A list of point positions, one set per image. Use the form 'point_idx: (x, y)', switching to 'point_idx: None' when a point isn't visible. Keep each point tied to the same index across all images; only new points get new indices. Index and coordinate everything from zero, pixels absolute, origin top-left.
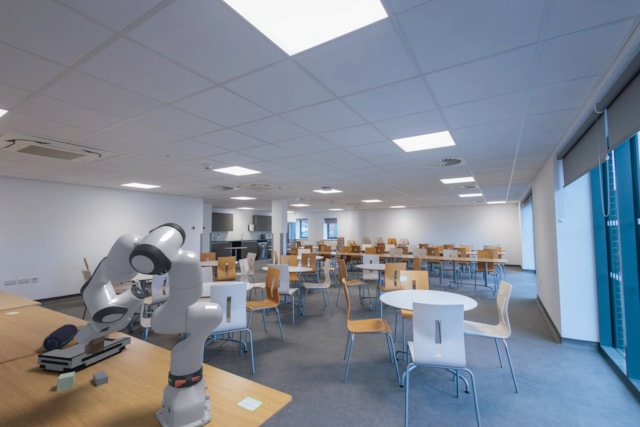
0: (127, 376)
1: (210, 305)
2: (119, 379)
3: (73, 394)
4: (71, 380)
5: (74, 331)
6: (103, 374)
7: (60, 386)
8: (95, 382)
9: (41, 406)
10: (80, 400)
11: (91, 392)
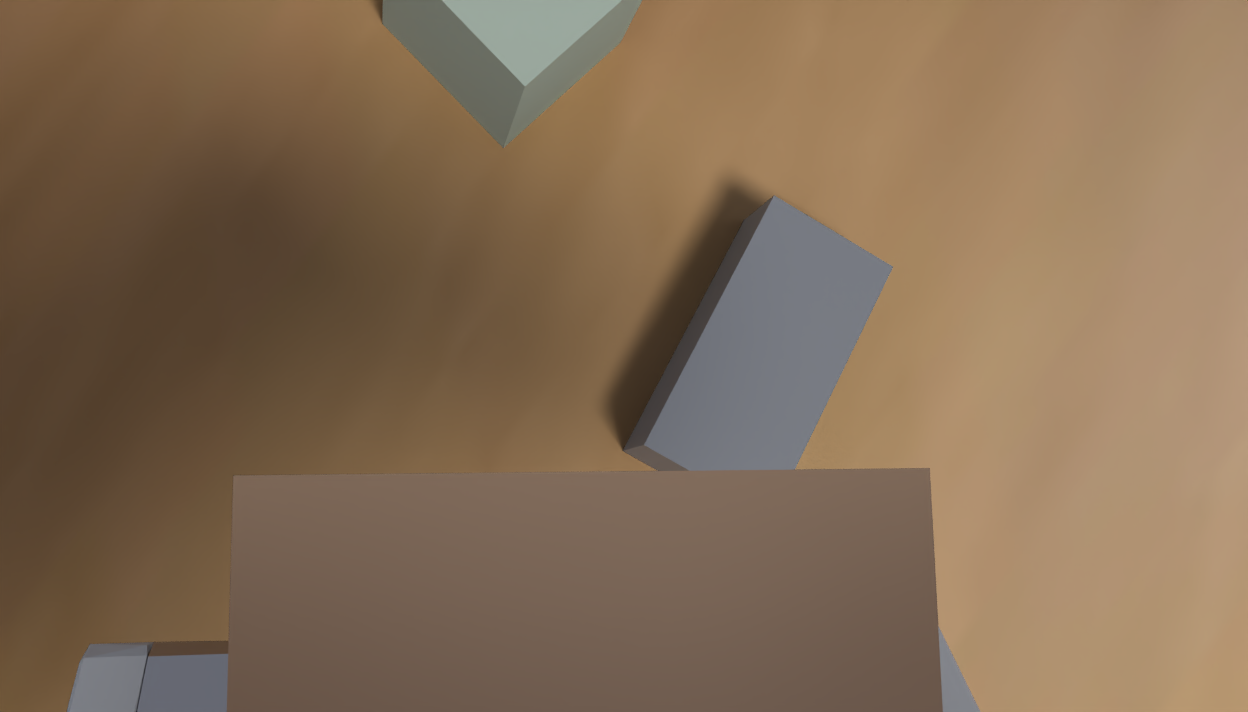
0: (952, 632)
1: None
2: None
3: (366, 340)
4: (504, 97)
5: None
6: (798, 376)
7: (410, 27)
8: (670, 366)
9: (15, 214)
10: None
11: None
